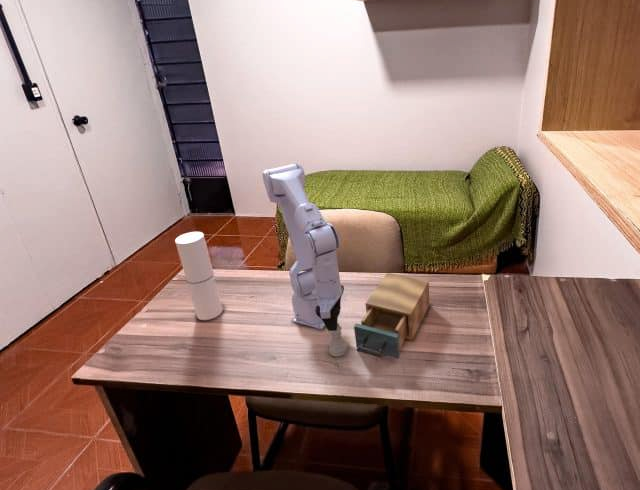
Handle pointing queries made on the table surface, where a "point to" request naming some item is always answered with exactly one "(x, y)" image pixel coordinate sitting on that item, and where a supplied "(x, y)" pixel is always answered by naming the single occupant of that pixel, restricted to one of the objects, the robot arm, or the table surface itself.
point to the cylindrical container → (199, 275)
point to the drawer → (381, 333)
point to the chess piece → (337, 342)
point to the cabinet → (402, 298)
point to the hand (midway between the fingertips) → (333, 321)
